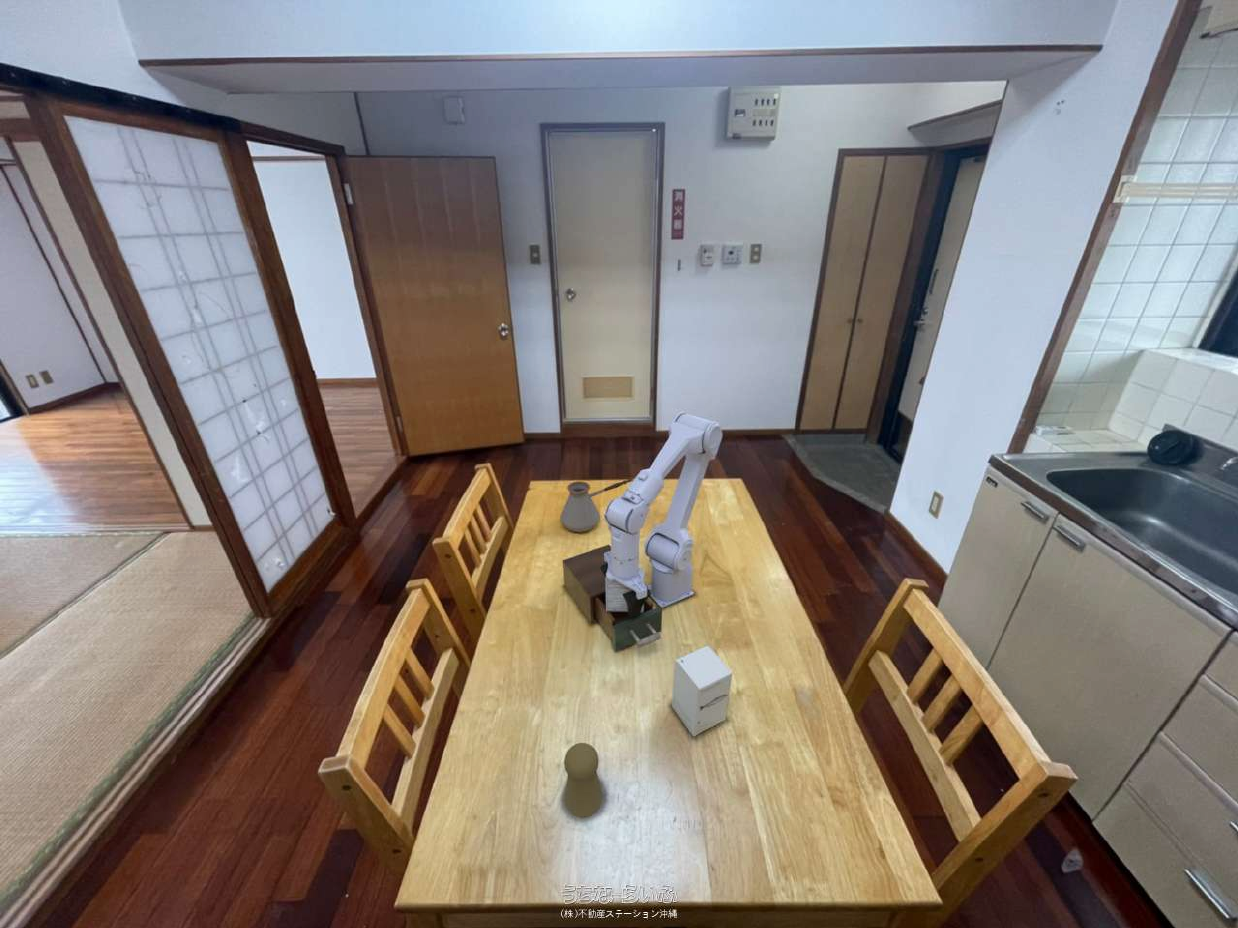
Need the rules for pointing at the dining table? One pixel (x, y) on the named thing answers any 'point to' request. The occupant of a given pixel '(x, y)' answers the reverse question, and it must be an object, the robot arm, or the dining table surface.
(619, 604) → the medicine box
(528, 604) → the dining table surface
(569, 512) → the coffee pot
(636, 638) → the drawer
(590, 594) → the cabinet
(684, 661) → the white packaging box
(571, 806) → the brown pawn figure
